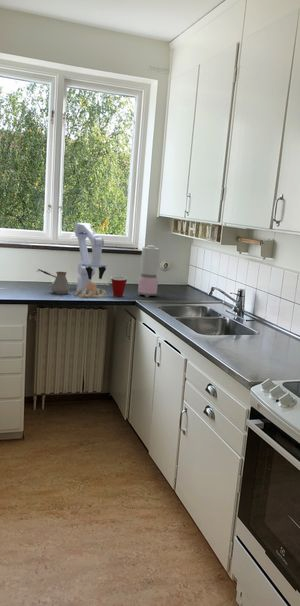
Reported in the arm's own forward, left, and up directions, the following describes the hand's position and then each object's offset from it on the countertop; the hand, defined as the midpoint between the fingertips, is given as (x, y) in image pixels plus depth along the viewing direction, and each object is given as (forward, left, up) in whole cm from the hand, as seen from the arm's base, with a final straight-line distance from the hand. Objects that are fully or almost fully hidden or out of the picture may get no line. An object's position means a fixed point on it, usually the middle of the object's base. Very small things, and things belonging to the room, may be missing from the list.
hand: (95, 278), depth 317 cm
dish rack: (+5, -5, -9) cm, 12 cm away
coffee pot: (-7, -25, -10) cm, 28 cm away
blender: (+13, +33, -10) cm, 37 cm away
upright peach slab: (+5, -6, -8) cm, 11 cm away
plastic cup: (+10, +11, -10) cm, 18 cm away
